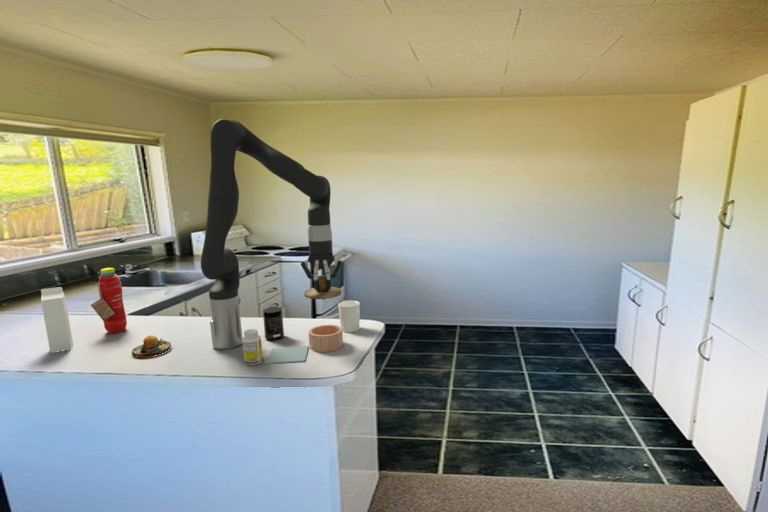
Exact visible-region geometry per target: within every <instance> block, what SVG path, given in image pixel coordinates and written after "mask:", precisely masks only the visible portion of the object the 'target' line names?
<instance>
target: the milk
mask: <svg viewBox="0 0 768 512" xmlns="http://www.w3.org/2000/svg"><path fill="white" fill-rule="evenodd" d="M63 290H64V289H63V287H61V286H58V287H49V288H48V287H47V288H42V289H41V290H40V294H41V297H40V302H41V308H42V313H43V314H42V315H43V319H44V325H45V326H44V327H45V331H46V336H47V342H48V347H49V353H50V354H53V353H52V352H56V353H58V352H57V351H61V352H63V351H62V350H67V351H69V350H68V349H71V348H72V349H73V346H74V340H73V335H72V330H71V324H70V318H69V312H68V307H67V300H66V295H65V292H64V291H63ZM72 349H71V350H72Z"/></svg>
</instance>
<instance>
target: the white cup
mask: <svg viewBox="0 0 768 512" xmlns="http://www.w3.org/2000/svg"><path fill="white" fill-rule="evenodd" d="M337 306H338V316H339V324H340V327H342V333H354V332H357V331H359V330H360V322H361V321H360V320H361V317H360V315H361V313H360V311H361V307H360V306H361V303H360V301H358V300H343V301H340V302H338V305H337Z"/></svg>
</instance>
